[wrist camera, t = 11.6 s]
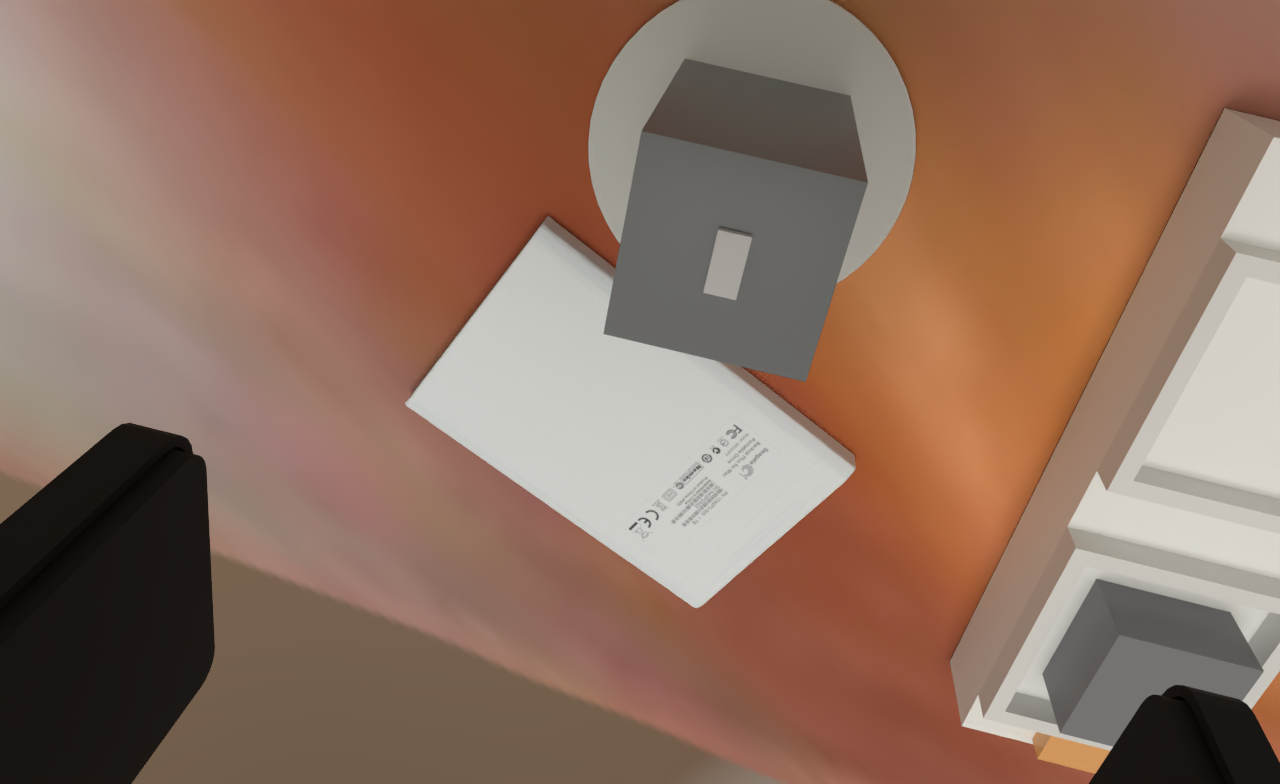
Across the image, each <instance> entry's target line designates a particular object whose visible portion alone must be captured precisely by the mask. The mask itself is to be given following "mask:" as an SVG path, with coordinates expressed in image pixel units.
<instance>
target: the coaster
mask: <svg viewBox="0 0 1280 784" xmlns="http://www.w3.org/2000/svg"><path fill="white" fill-rule="evenodd" d="M684 59H690V60H694V61H699V62H703V63H708V64H712V65H717V66H721V67H725V68H730V69H734V70H739V71H743V72H748V73H752V74H757V75H761V76H765V77H770V78H774V79H779V80H783V81H788V82H792V83H797V84H801V85H805V86H810V87H814V88H819V89H823V90H828V91H832V92H837V93H841V94H845V95H850V96H851V101H852V106H853V110H854V115H855V120H856V125H857V130H858V135H859V140H860V145H861V150H862V155H863V160H864V165H865V170H866V175H867V180H868V185H867V188H866V191H865V194H864V197H863V201H862V204H861V207H860V210H859V213H858V216H857V220H856V223H855V226H854V229H853V232H852V236H851V239H850V242H849V245H848V248H847V251H846V255H845V258H844V261H843V264H842V267H841V271H840V274H839V277H838V280H837V283H838V282H840V281H842V280H843V279H845V278H846V277H847V276H849V275H850V274H851V273H852V272H854V271H855V270H856V269H857V268H859V267H860V266H861V265H862V264H863V263H864V262H865V261H866V260H867V259H868V258H869V257H870V256H871V255H872V254H873V253H874V252H875V251H876V250H877V248H878V247H879V246H880V244H881V243H882V242H883V241H884V239H885V238H886V237H887V235H888V234H889V232H890V230H891V229H892V227H893V225H894V224H895V222H896V220H897V219H898V217H899V215H900V212H901V210H902V208H903V205H904V203H905V200H906V198H907V195H908V192H909V188H910V184H911V181H912V177H913V171H914V164H915V156H916V131H915V123H914V116H913V110H912V106H911V103H910V99H909V95H908V92H907V89H906V86H905V84H904V82H903V80H902V77H901V75H900V73H899V70H898V68H897V66H896V64H895V63H894V61H893V60H892V58H891V56H890V55H889V53H888V52H887V50H886V48H885V47H884V46H883V44H882V43H881V42H880V41H879V40H878V38H877V37H876V36H875V35H874V34H873V33H872V31H871V30H870V29H869V28H868V27H866V26H865V25H864V24H863V23H862V22H861V21H860V20H859V19H858V18H856V17H855V16H854V15H853V14H851V13H850V12H848V11H847V10H845V9H844V8H842V7H841V6H839V5H838V4H836V3H835V2H833V1H831V0H679V1H678V2H676V3H674V4H673V5H671V6H669V7H667V8H666V9H664V10H662V11H661V12H660V13H658V14H657V15H656V16H655V17H653V18H652V19H651V20H650V21H648V22H647V23H646V24H645V25H644V26H643V27H642V28H641V29H640V30H639V31H638V32H637V33H636V34H635V35H634V36H633V37H632V38H631V39H630V40H629V41H628V42H627V43H626V45H625V46H624V48H623V49H622V50H621V52H620V53H619V54H618V56H617V57H616V58H615V60H614V61H613V63H612V65H611V67H610V69H609V70H608V72H607V74H606V76H605V78H604V80H603V82H602V85H601V87H600V90H599V92H598V95H597V98H596V100H595V104H594V109H593V113H592V117H591V121H590V131H589V140H588V150H589V167H590V174H591V180H592V185H593V188H594V192H595V195H596V199H597V202H598V205H599V207H600V209H601V212H602V214H603V216H604V218H605V221H606V223H607V224H608V226H609V228H610V229H611V231H612V233H613V234H614V236H615V238H616V239H617V240H618V242H619V243H620V242H621V237H622V232H623V226H624V221H625V216H626V210H627V205H628V200H629V194H630V189H631V184H632V179H633V173H634V168H635V163H636V157H637V152H638V147H639V141H640V136H641V131H642V129H643V127H644V126H645V124H646V122H647V121H648V119H649V117H650V116H651V114H652V112H653V111H654V109H655V107H656V106H657V104H658V102H659V101H660V99H661V97H662V96H663V94H664V92H665V91H666V89H667V87H668V86H669V84H670V82H671V81H672V79H673V77H674V76H675V74H676V72H677V71H678V69H679V67H680V66H681V64H682V62H683V61H684ZM837 283H836V284H837Z"/></svg>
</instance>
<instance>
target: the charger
mask: <svg viewBox="0 0 1280 784" xmlns="http://www.w3.org/2000/svg"><path fill="white" fill-rule="evenodd" d="M867 185H868V180H867V175H866V170H865V165H864V160H863V155H862V150H861V145H860V140H859V135H858V130H857V125H856V120H855V115H854V110H853V106H852V101H851V96H850V95H845V94H841V93H837V92H832V91H828V90H823V89H819V88H814V87H810V86H805V85H801V84H797V83H792V82H788V81H783V80H779V79H774V78H770V77H765V76H761V75H757V74H752V73H748V72H743V71H739V70H734V69H730V68H725V67H721V66H717V65H712V64H708V63H703V62H699V61H694V60H690V59H684V61H683V62H682V64H681V66H680V67H679V69H678V71H677V72H676V74H675V76H674V77H673V79H672V81H671V82H670V84H669V86H668V87H667V89H666V91H665V92H664V94H663V96H662V97H661V99H660V101H659V102H658V104H657V106H656V107H655V109H654V111H653V112H652V114H651V116H650V117H649V119H648V121H647V122H646V124H645V126H644V127H643V129H642V131H641V136H640V141H639V147H638V152H637V157H636V163H635V168H634V173H633V179H632V184H631V189H630V194H629V200H628V205H627V210H626V216H625V221H624V226H623V232H622V237H621V242H620V248H619V253H618V258H617V264H616V269H615V274H614V280H613V285H612V290H611V296H610V301H609V306H608V312H607V317H606V322H605V328H604V333H603V334H605V335H610V336H614V337H618V338H622V339H627V340H631V341H635V342H639V343H644V344H648V345H652V346H656V347H660V348H665V349H669V350H673V351H677V352H682V353H686V354H690V355H694V356H699V357H703V358H707V359H711V360H715V361H720V362H724V363H728V364H732V365H737V366H741V367H745V368H749V369H753V370H758V371H762V372H766V373H770V374H775V375H779V376H783V377H787V378H792V379H796V380H800V381H804V382H806V379H807V376H808V372H809V369H810V366H811V363H812V360H813V356H814V353H815V350H816V347H817V344H818V341H819V337H820V334H821V331H822V328H823V325H824V321H825V318H826V315H827V312H828V309H829V306H830V302H831V299H832V296H833V293H834V290H835V286H836V283H837V280H838V277H839V274H840V271H841V267H842V264H843V261H844V258H845V255H846V251H847V248H848V245H849V242H850V239H851V236H852V232H853V229H854V226H855V223H856V220H857V216H858V213H859V210H860V207H861V204H862V201H863V197H864V194H865V191H866V188H867Z"/></svg>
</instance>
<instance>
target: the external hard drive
mask: <svg viewBox="0 0 1280 784" xmlns="http://www.w3.org/2000/svg"><path fill="white" fill-rule="evenodd" d="M615 269H616V268H614V267H613V266H612V265H611V264H609V263H608V262H607V261H606V260H604V259H603V258H602V257H600V256H599V255H598V254H597V253H595V252H594V251H593V250H591V249H590V248H589V247H588V246H586V245H585V244H584V243H582V242H581V241H580V240H579V239H577V238H576V237H575V236H573V235H572V234H571V233H569V232H568V231H567V230H566V229H564V228H563V227H562V226H560V225H559V224H558V223H557V222H555V221H554V220H553V219H552V218H551V217H549V216H547V217H546V219H545V220H544V221H543V223H542V224H541V225H540V227H539V228H538V229H537V231H536V232H535V233H534V235H533V236H532V237H531V239H530V240H529V241H528V243H527V244H526V245H525V247H524V248H523V249H522V251H521V252H520V253H519V255H518V256H517V257H516V258H515V260H514V261H513V262H512V264H511V265H510V266H509V268H508V269H507V270H506V272H505V273H504V274H503V276H502V277H501V278H500V279H499V281H498V282H497V283H496V285H495V286H494V287H493V289H492V290H491V291H490V293H489V294H488V295H487V297H486V298H485V299H484V301H483V302H482V303H481V304H480V306H479V307H478V308H477V310H476V311H475V312H474V314H473V315H472V316H471V318H470V319H469V320H468V322H467V323H466V324H465V326H464V327H463V328H462V329H461V331H460V332H459V333H458V335H457V336H456V337H455V339H454V340H453V341H452V343H451V344H450V345H449V346H448V348H447V349H446V350H445V352H444V353H443V354H442V356H441V357H440V358H439V360H438V361H437V362H436V363H435V365H434V366H433V367H432V369H431V370H430V371H429V373H428V374H427V375H426V377H425V378H424V379H423V380H422V382H421V383H420V384H419V386H418V387H417V388H416V389H415V391H414V392H413V394H412V395H411V396H410V398H409V399H408V400H407V401H406V403H405V404H406V406H408V407H409V408H410V409H412V410H413V411H415V412H416V413H418V414H419V415H420V416H422V417H423V418H425V419H426V420H428V421H429V422H430V423H432V424H433V425H434V426H436V427H437V428H439V429H440V430H442V431H443V432H445V433H446V434H448V435H449V436H450V437H452V438H453V439H455V440H456V441H457V442H459V443H460V444H462V445H463V446H465V447H466V448H468V449H469V450H470V451H472V452H473V453H475V454H476V455H477V456H479V457H480V458H482V459H483V460H485V461H486V462H487V463H489V464H490V465H492V466H493V467H494V468H496V469H497V470H499V471H500V472H502V473H503V474H504V475H506V476H507V477H509V478H510V479H512V480H513V481H514V482H516V483H517V484H519V485H520V486H522V487H523V488H524V489H526V490H527V491H529V492H530V493H532V494H533V495H534V496H536V497H537V498H539V499H540V500H542V501H543V502H545V503H546V504H547V505H549V506H550V507H551V508H553V509H554V510H556V511H557V512H559V513H560V514H561V515H563V516H564V517H566V518H567V519H569V520H570V521H571V522H573V523H574V524H576V525H577V526H578V527H580V528H581V529H583V530H584V531H586V532H587V533H588V534H590V535H591V536H593V537H594V538H596V539H597V540H598V541H600V542H601V543H603V544H604V545H606V546H607V547H608V548H610V549H611V550H613V551H614V552H615V553H617V554H618V555H620V556H621V557H623V558H624V559H626V560H627V561H629V562H630V563H631V564H633V565H634V566H636V567H637V568H639V569H640V570H642V571H643V572H644V573H646V574H647V575H649V576H650V577H652V578H653V579H654V580H656V581H657V582H659V583H660V584H662V585H663V586H665V587H666V588H667V589H669V590H670V591H671V592H673V593H674V594H675V595H677V596H678V597H680V598H681V599H683V600H684V601H686V602H687V603H689V604H690V605H691V606H692V607H694V608H698V607H700V606H702V605H703V604H705V603H706V602H707V601H708V600H709V599H710V598H712V597H713V596H714V595H715V594H716V593H717V592H718V591H719V590H721V589H722V588H723V587H724V586H725V585H726V584H727V583H728V582H730V581H731V580H732V579H733V578H734V577H735V576H736V575H737V574H739V573H740V572H741V571H742V570H743V569H745V568H746V567H747V566H748V565H749V564H750V563H752V562H753V561H754V560H755V559H756V558H757V557H758V556H759V555H761V554H762V553H763V552H764V551H765V550H766V549H768V548H769V547H770V546H771V545H772V544H774V543H775V542H776V541H777V540H778V539H779V538H781V537H782V536H783V535H784V534H785V533H786V532H787V531H789V530H790V529H791V528H792V527H793V526H794V525H796V524H797V523H798V522H799V521H800V520H801V519H802V518H804V517H805V516H806V515H807V514H808V513H809V512H811V511H812V510H813V509H814V508H815V507H816V506H817V505H819V504H820V503H821V502H822V501H823V500H824V499H826V498H827V497H828V496H829V495H830V494H831V493H832V492H834V491H835V490H836V489H837V488H838V487H840V486H841V485H842V484H843V483H844V482H845V481H846V480H847V479H848V478H849V477H850V475H851V474H852V473H853V472H854V470H855V469H856V466H855V456H854V454H853V453H851V452H850V451H849V450H847V449H846V448H845V447H844V446H842V445H841V444H840V443H839V442H837V441H836V440H835V439H834V438H832V437H831V436H829V435H828V434H827V433H826V432H825V431H823V430H822V429H821V428H819V427H818V426H817V425H816V424H814V423H813V422H812V421H810V420H809V419H808V418H807V417H805V416H804V415H803V414H801V413H800V412H799V411H798V410H796V409H795V408H794V407H793V406H791V405H790V404H789V403H788V402H786V401H785V400H784V399H782V398H781V397H780V396H779V395H777V394H776V393H775V392H773V391H772V390H771V389H770V388H768V387H767V386H766V385H765V384H763V383H762V382H761V381H759V380H758V379H757V378H756V377H754V376H753V375H752V374H750V373H749V372H748V371H747V370H745V369H744V368H743V367H741V366H737V365H732V364H728V363H724V362H720V361H715V360H711V359H707V358H703V357H699V356H694V355H690V354H686V353H682V352H677V351H673V350H669V349H665V348H660V347H656V346H652V345H648V344H644V343H639V342H635V341H631V340H627V339H622V338H618V337H614V336H610V335H605V334H603V333H604V328H605V322H606V317H607V312H608V306H609V301H610V296H611V290H612V285H613V280H614V274H615Z"/></svg>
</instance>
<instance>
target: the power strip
mask: <svg viewBox="0 0 1280 784" xmlns="http://www.w3.org/2000/svg"><path fill="white" fill-rule="evenodd" d="M950 665H951V670H952V675H953V681H954V686H955V692H956V697H957V703H958V708H959V714H960V719H961V724H962V726H964V727H968V728H972V729H976V730H980V731H983V732H987V733H991V734H995V735H999V736H1003V737H1007V738H1011V739H1015V740H1019V741H1023V742H1026V743H1030V744H1034V748H1035V752H1036V755H1037V759H1040V760H1044V761H1048V762H1052V763H1056V764H1059V765H1063V766H1067V767H1071V768H1075V769H1079V770H1083V771H1087V772H1091V773H1095V774H1096V772H1097V771H1098V769H1099V767H1100V766H1101V764H1102V763H1103V761H1104V760H1105V758H1106V757H1107V755H1108V754H1109V752H1110V751H1111V749H1112V748H1113V746H1114V745H1115V743H1116V742H1117V740H1118V739H1119V737H1120V736H1121V734H1122V733H1123V731H1124V730H1125V728H1126V727H1127V725H1128V723H1129V722H1130V720H1131V719H1132V717H1133V716H1134V714H1135V713H1136V711H1137V710H1138V708H1139V707H1140V705H1141V704H1142V702H1143V701H1144V700H1145V699H1146V698H1147V697H1149V696H1151V695H1160V696H1161V695H1162V694H1163V693H1164V692H1165V691H1166V690H1167V689H1168V688H1170V687H1172V686H1174V685H1184V686H1188V687H1192V688H1196V689H1200V690H1204V691H1208V692H1212V693H1216V694H1220V695H1224V696H1228V697H1232V698H1236V699H1240V700H1241V701H1243V702H1244V703H1246V704H1247V705H1248V706H1249V707H1250V709H1252V707H1253V706H1254V705H1255V703H1256V702H1257V701H1258V699H1259V698H1260V697H1261V695H1262V694H1263V693H1264V691H1265V690H1266V689H1267V687H1268V686H1269V684H1270V683H1271V682H1272V680H1273V679H1274V678H1275V676H1276V675H1277V674H1278V672H1279V671H1280V121H1277V120H1273V119H1269V118H1265V117H1260V116H1256V115H1252V114H1247V113H1243V112H1239V111H1235V110H1230V109H1226V108H1224V110H1223V112H1222V114H1221V116H1220V118H1219V120H1218V122H1217V124H1216V126H1215V128H1214V130H1213V132H1212V134H1211V136H1210V138H1209V140H1208V142H1207V144H1206V147H1205V149H1204V151H1203V153H1202V155H1201V157H1200V159H1199V161H1198V163H1197V165H1196V167H1195V169H1194V171H1193V173H1192V175H1191V177H1190V179H1189V181H1188V183H1187V185H1186V187H1185V189H1184V191H1183V193H1182V195H1181V197H1180V199H1179V201H1178V203H1177V205H1176V207H1175V209H1174V211H1173V213H1172V215H1171V217H1170V219H1169V221H1168V223H1167V225H1166V227H1165V229H1164V231H1163V233H1162V235H1161V237H1160V239H1159V241H1158V243H1157V245H1156V247H1155V249H1154V251H1153V253H1152V255H1151V257H1150V259H1149V261H1148V263H1147V265H1146V267H1145V269H1144V271H1143V273H1142V275H1141V277H1140V279H1139V281H1138V283H1137V285H1136V287H1135V289H1134V291H1133V293H1132V295H1131V298H1130V300H1129V302H1128V304H1127V306H1126V308H1125V310H1124V312H1123V314H1122V316H1121V318H1120V320H1119V322H1118V324H1117V326H1116V328H1115V330H1114V332H1113V334H1112V336H1111V338H1110V340H1109V342H1108V344H1107V346H1106V348H1105V350H1104V352H1103V354H1102V356H1101V358H1100V360H1099V362H1098V364H1097V366H1096V368H1095V370H1094V372H1093V374H1092V376H1091V378H1090V380H1089V382H1088V384H1087V386H1086V388H1085V390H1084V392H1083V394H1082V396H1081V398H1080V400H1079V402H1078V404H1077V406H1076V408H1075V410H1074V412H1073V414H1072V416H1071V418H1070V420H1069V422H1068V424H1067V426H1066V428H1065V430H1064V432H1063V434H1062V436H1061V438H1060V440H1059V442H1058V444H1057V447H1056V449H1055V451H1054V453H1053V455H1052V457H1051V459H1050V461H1049V463H1048V465H1047V467H1046V469H1045V471H1044V473H1043V475H1042V477H1041V479H1040V481H1039V483H1038V485H1037V487H1036V489H1035V491H1034V493H1033V495H1032V497H1031V499H1030V501H1029V503H1028V505H1027V507H1026V509H1025V511H1024V513H1023V515H1022V517H1021V519H1020V521H1019V523H1018V525H1017V527H1016V529H1015V531H1014V533H1013V535H1012V537H1011V539H1010V541H1009V543H1008V545H1007V547H1006V549H1005V551H1004V553H1003V555H1002V557H1001V559H1000V561H999V563H998V565H997V567H996V569H995V571H994V573H993V575H992V577H991V579H990V581H989V583H988V585H987V587H986V589H985V591H984V593H983V595H982V598H981V600H980V602H979V604H978V606H977V608H976V610H975V612H974V614H973V616H972V618H971V620H970V622H969V624H968V626H967V628H966V630H965V632H964V634H963V636H962V638H961V640H960V642H959V644H958V646H957V648H956V650H955V652H954V654H953V656H952V658H951V660H950Z"/></svg>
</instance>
